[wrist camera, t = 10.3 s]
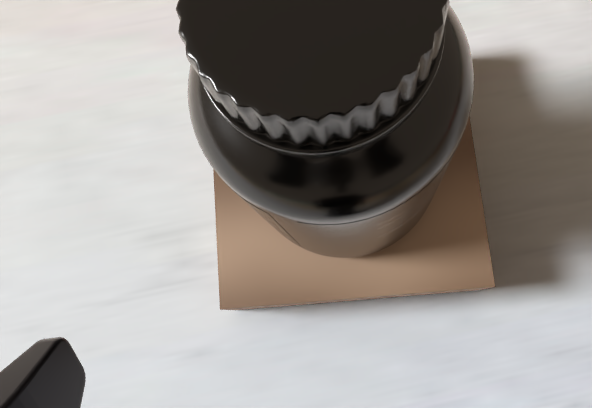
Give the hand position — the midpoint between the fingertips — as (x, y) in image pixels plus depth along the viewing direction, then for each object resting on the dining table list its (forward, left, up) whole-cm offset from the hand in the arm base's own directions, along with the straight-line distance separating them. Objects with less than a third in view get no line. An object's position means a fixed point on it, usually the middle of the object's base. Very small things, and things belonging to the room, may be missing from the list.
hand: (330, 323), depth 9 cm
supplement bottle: (+5, +1, -11) cm, 13 cm away
